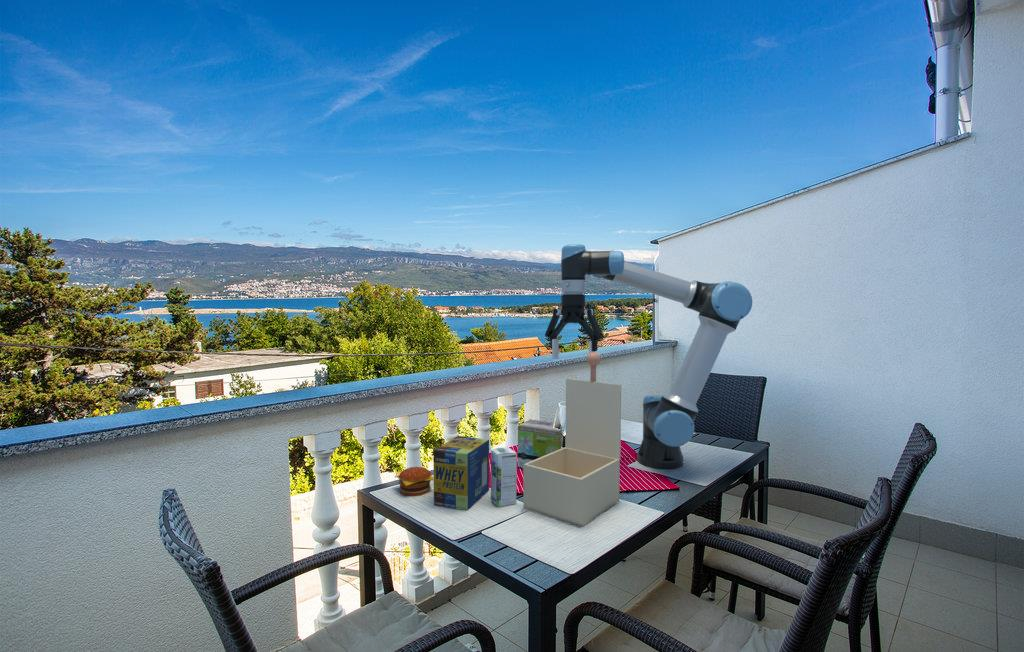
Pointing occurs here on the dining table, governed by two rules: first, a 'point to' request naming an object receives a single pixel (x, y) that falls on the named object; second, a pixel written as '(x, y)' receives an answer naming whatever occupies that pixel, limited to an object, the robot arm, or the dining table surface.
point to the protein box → (461, 472)
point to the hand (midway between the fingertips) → (573, 360)
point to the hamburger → (415, 481)
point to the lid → (593, 414)
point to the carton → (571, 485)
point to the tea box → (537, 440)
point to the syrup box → (503, 476)
